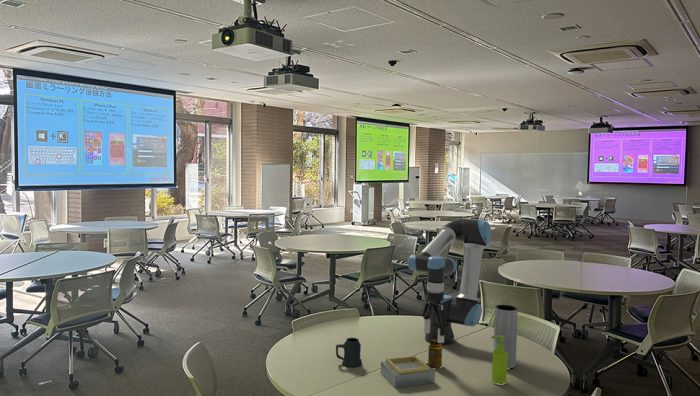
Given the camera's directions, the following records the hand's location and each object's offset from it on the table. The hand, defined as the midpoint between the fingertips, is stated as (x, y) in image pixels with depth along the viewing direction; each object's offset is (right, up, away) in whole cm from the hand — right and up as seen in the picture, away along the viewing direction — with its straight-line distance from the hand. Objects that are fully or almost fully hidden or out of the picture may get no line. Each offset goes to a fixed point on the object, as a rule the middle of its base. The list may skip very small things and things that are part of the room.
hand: (433, 337), depth 238 cm
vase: (+33, -14, +3) cm, 36 cm away
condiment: (0, -13, +1) cm, 13 cm away
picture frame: (-14, -14, -11) cm, 23 cm away
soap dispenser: (+24, -15, -16) cm, 33 cm away
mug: (-38, -13, +2) cm, 40 cm away
